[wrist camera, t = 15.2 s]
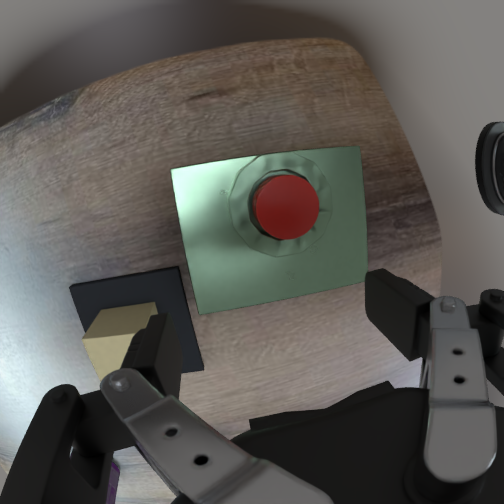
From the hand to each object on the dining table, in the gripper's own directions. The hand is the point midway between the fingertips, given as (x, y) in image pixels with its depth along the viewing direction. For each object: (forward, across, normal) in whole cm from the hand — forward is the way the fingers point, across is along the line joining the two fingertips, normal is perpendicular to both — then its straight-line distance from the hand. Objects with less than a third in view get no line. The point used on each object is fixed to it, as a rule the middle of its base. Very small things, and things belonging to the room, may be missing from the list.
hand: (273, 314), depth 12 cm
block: (+12, +10, +6) cm, 17 cm away
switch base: (+13, -3, -1) cm, 13 cm away
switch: (+9, -3, -3) cm, 10 cm away
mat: (+12, +10, +6) cm, 17 cm away
